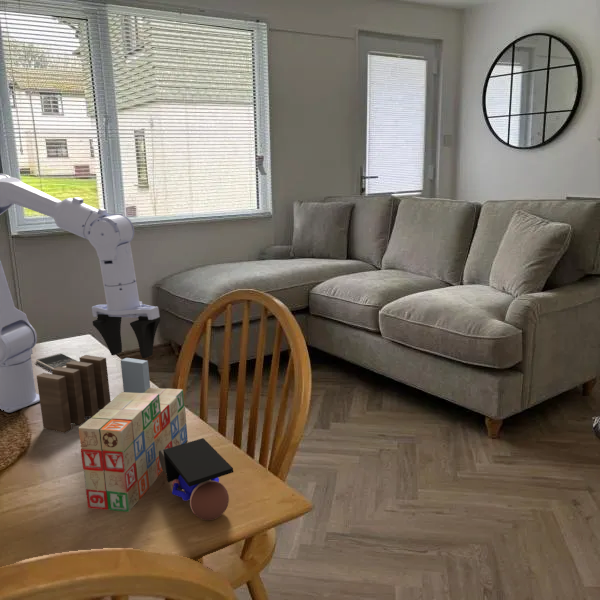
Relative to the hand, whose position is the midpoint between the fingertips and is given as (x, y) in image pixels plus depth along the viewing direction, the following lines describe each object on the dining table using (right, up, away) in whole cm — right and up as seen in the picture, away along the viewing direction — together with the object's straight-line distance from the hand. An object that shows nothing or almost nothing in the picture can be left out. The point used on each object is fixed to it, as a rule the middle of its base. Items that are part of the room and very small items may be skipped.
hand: (131, 355), depth 110 cm
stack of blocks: (+7, -16, -19) cm, 26 cm away
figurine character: (+16, -18, -26) cm, 36 cm away
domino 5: (0, -11, +3) cm, 11 cm away
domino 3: (-9, -11, +2) cm, 15 cm away
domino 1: (-12, -13, -4) cm, 18 cm away
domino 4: (-8, -10, +5) cm, 14 cm away
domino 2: (-11, -12, -1) cm, 16 cm away
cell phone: (-26, -6, +30) cm, 40 cm away
